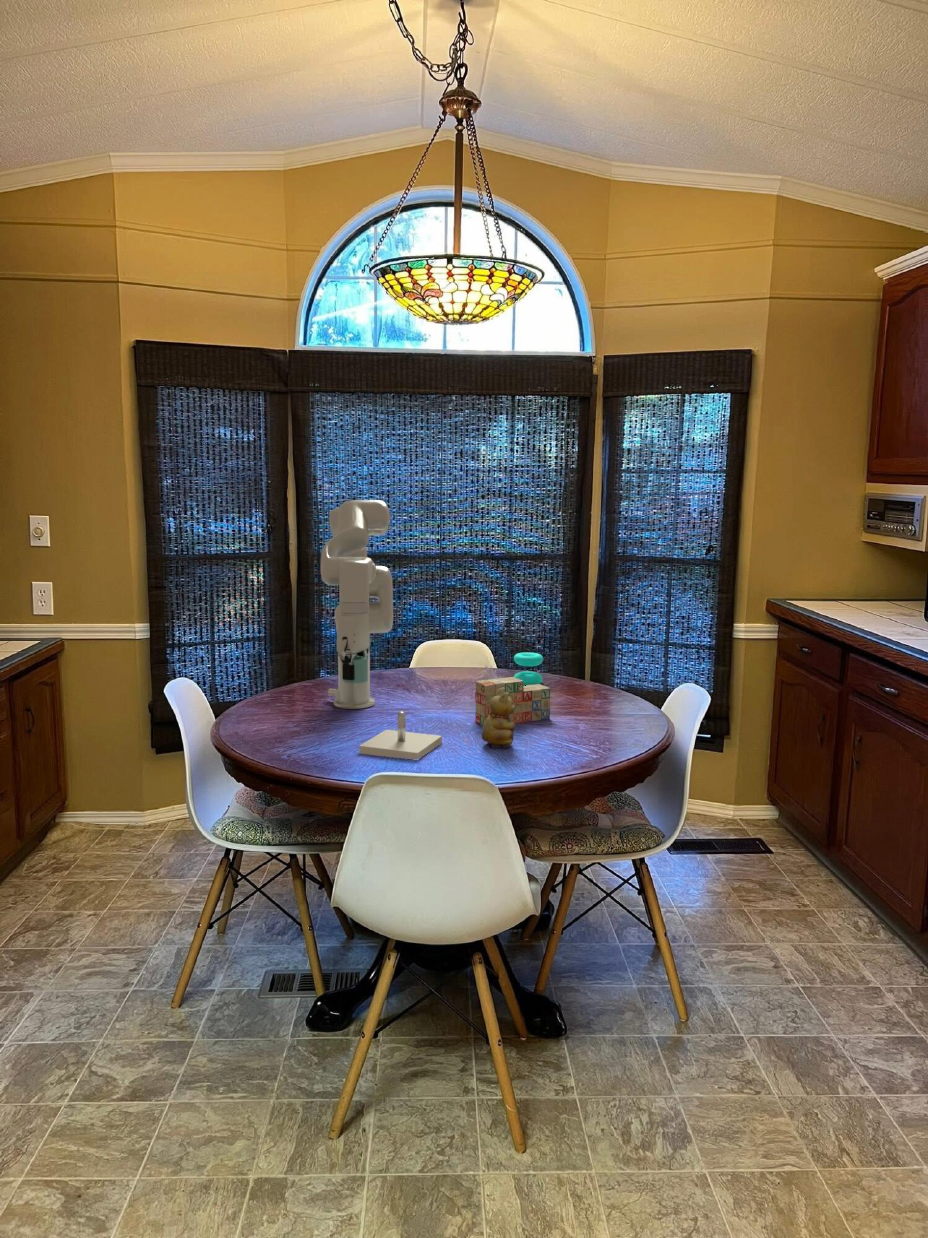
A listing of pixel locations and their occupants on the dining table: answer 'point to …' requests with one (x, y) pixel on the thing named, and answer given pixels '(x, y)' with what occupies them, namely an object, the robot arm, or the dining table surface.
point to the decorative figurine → (499, 721)
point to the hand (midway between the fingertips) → (354, 676)
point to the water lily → (492, 673)
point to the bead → (359, 670)
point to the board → (400, 742)
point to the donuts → (528, 660)
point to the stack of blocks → (513, 699)
